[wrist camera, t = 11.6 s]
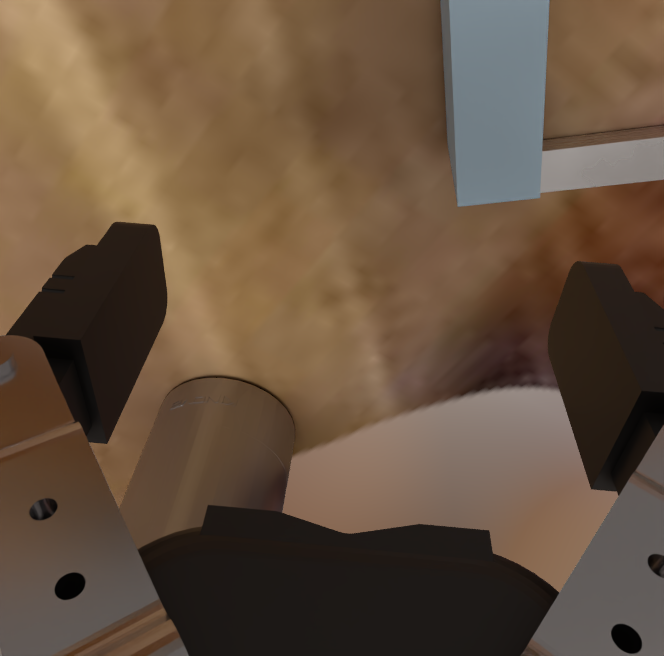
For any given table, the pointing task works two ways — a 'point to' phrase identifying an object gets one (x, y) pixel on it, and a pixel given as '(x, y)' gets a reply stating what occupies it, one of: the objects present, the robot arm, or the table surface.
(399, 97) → the table surface
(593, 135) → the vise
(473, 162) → the free jaw
